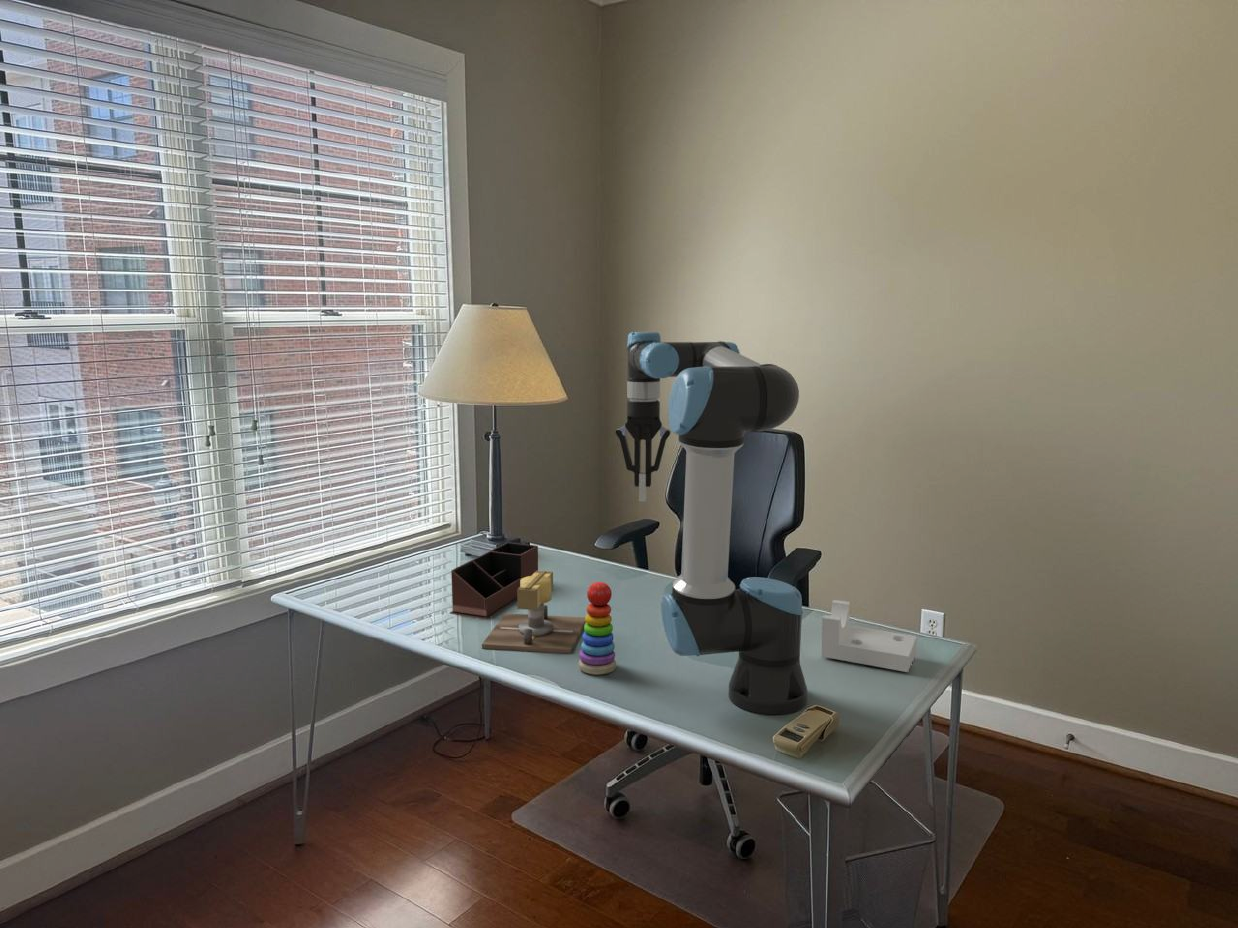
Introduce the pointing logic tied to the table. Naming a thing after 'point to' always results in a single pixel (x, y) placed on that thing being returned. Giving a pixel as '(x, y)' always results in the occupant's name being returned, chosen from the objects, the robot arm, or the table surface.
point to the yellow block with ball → (535, 590)
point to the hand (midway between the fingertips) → (642, 500)
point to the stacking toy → (598, 633)
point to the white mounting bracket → (864, 642)
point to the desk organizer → (492, 579)
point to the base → (535, 632)
